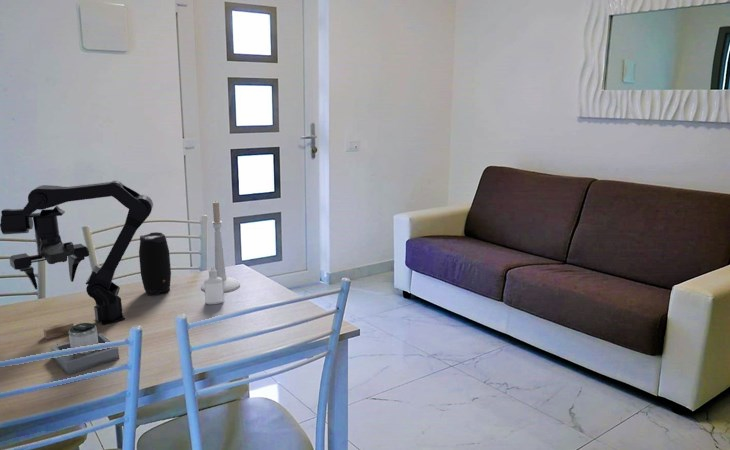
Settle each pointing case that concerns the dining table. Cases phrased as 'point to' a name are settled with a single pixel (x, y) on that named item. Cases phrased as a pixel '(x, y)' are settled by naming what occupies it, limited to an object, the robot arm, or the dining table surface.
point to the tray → (86, 357)
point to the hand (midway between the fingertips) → (54, 285)
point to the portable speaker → (155, 263)
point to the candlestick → (221, 254)
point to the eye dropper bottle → (213, 288)
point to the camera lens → (83, 337)
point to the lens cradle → (58, 331)
